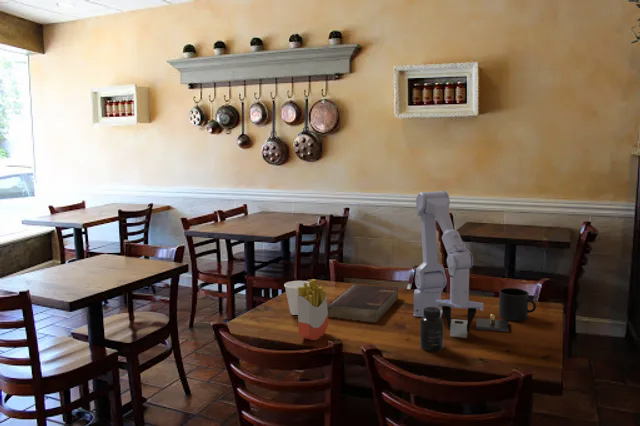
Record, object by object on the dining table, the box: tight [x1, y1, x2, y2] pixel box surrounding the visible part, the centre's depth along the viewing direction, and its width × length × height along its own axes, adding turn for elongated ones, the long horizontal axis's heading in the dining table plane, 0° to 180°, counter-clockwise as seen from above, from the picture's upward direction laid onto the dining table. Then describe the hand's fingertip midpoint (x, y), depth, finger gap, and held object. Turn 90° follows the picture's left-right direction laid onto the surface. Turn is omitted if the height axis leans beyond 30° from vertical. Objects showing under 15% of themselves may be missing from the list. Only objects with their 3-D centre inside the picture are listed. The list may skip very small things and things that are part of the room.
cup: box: [284, 280, 309, 316], centre depth 190 cm, size 10×10×11 cm
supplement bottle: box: [419, 307, 445, 353], centre depth 156 cm, size 7×7×12 cm
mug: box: [498, 287, 537, 322], centre depth 180 cm, size 9×12×9 cm
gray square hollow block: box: [449, 318, 469, 339], centre depth 166 cm, size 5×5×4 cm
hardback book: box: [327, 284, 399, 323], centre depth 196 cm, size 29×19×5 cm, turn 157°
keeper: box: [475, 313, 510, 333], centre depth 173 cm, size 10×8×4 cm
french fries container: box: [297, 278, 329, 341], centre depth 166 cm, size 5×11×18 cm, turn 147°
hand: (459, 330), depth 167 cm, fingers closed on gray square hollow block, 5 cm apart
